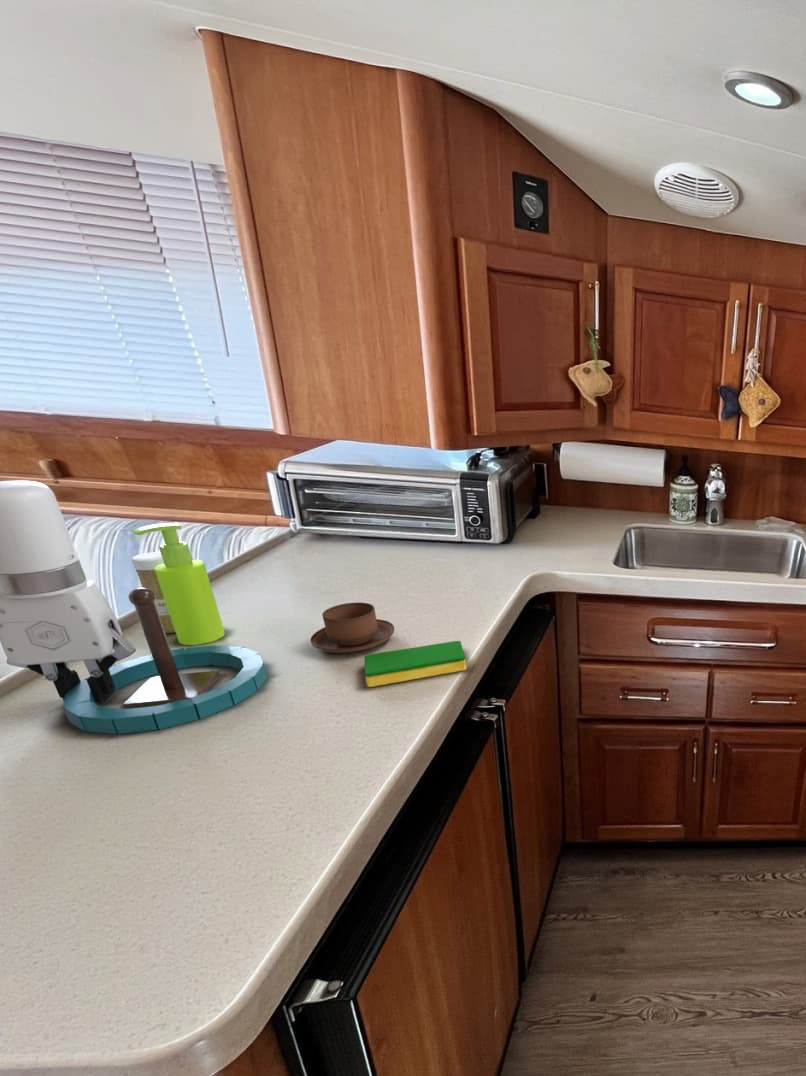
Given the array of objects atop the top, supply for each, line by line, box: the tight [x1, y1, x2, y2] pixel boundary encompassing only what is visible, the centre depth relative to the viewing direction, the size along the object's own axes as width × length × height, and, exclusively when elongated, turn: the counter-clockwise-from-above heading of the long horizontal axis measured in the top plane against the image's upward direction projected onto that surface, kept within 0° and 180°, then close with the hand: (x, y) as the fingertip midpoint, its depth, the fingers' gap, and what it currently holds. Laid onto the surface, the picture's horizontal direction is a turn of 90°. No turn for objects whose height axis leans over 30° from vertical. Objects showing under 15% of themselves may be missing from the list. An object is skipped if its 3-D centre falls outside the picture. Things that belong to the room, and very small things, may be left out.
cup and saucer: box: [310, 602, 395, 654], centre depth 109 cm, size 12×12×6 cm
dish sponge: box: [364, 640, 468, 688], centre depth 104 cm, size 7×14×2 cm, turn 123°
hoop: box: [62, 644, 268, 735], centre depth 92 cm, size 21×21×2 cm
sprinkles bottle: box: [131, 551, 176, 634], centre depth 107 cm, size 5×5×14 cm
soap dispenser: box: [131, 522, 226, 646], centre depth 104 cm, size 6×7×20 cm
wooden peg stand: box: [122, 587, 221, 709], centre depth 90 cm, size 8×8×16 cm
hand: (90, 698), depth 89 cm, fingers closed on hoop, 2 cm apart
